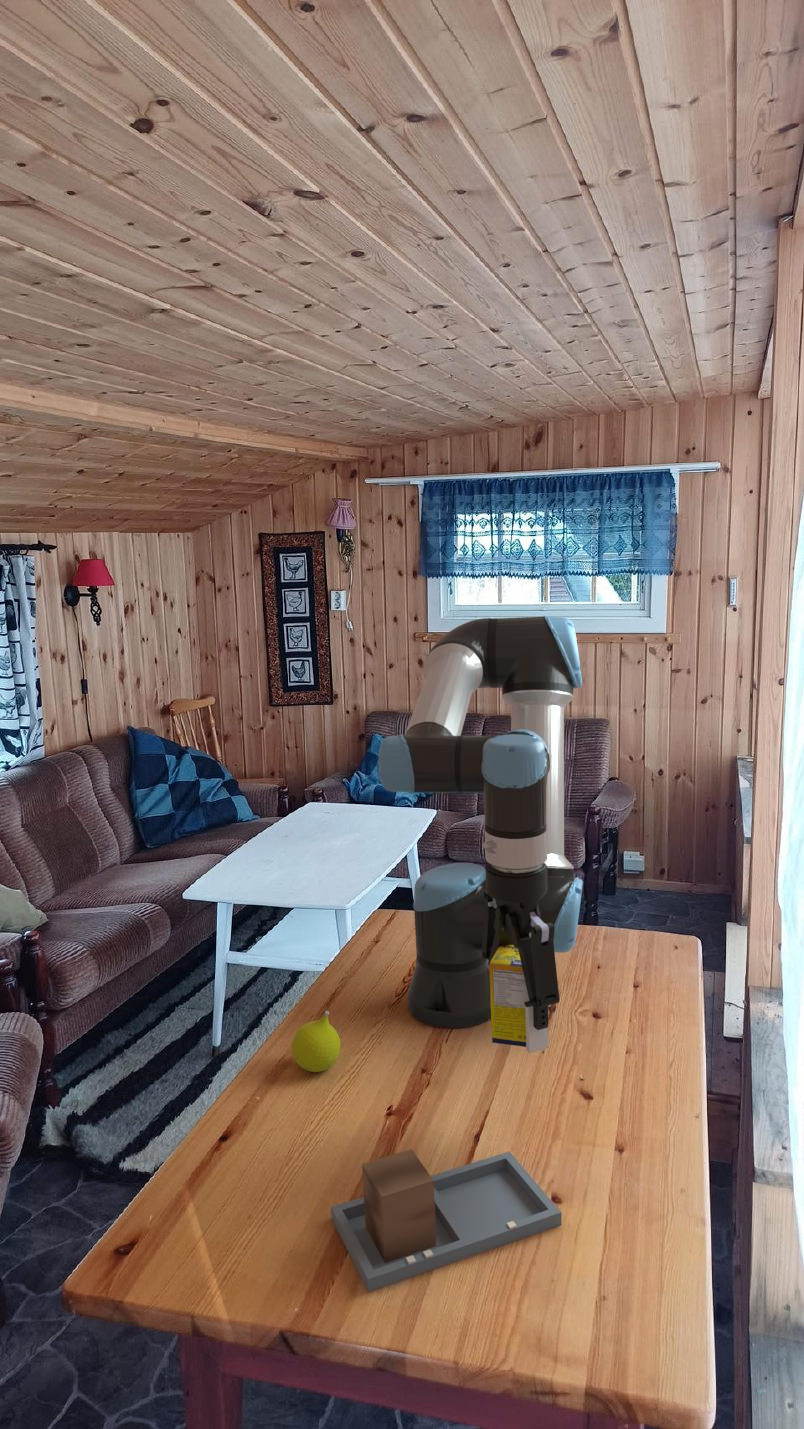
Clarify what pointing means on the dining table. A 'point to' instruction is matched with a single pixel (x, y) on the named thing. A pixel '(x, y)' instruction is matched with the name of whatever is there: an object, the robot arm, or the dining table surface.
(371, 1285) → the slot tray
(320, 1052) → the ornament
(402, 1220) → the walnut block
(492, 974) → the supplement box
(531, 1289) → the dining table surface
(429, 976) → the robot arm
